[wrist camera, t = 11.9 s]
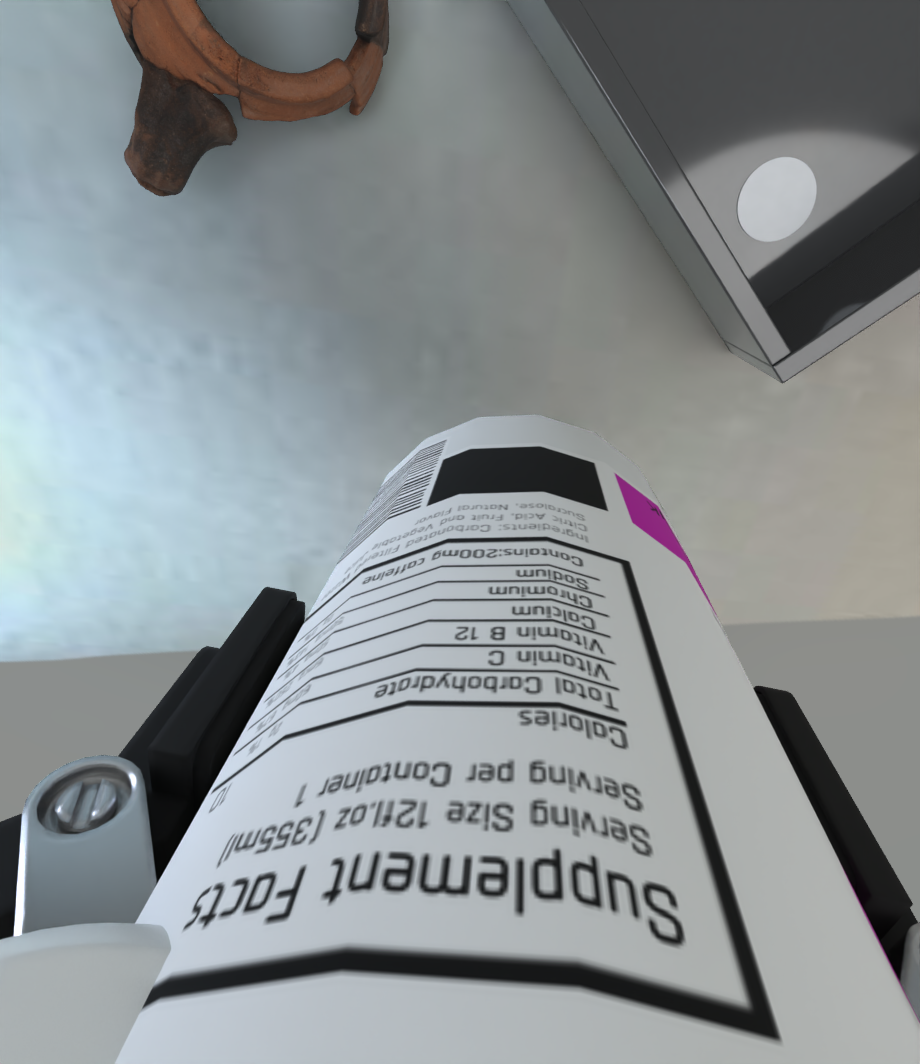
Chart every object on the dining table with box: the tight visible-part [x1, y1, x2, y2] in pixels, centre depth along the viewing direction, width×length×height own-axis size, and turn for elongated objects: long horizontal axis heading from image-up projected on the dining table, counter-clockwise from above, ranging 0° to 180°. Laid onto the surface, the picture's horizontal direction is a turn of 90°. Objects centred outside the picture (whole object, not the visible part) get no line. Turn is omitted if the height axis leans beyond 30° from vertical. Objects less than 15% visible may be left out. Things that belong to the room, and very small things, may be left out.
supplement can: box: [115, 415, 920, 1064], centre depth 10 cm, size 8×8×15 cm
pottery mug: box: [111, 0, 389, 196], centre depth 21 cm, size 12×10×8 cm
